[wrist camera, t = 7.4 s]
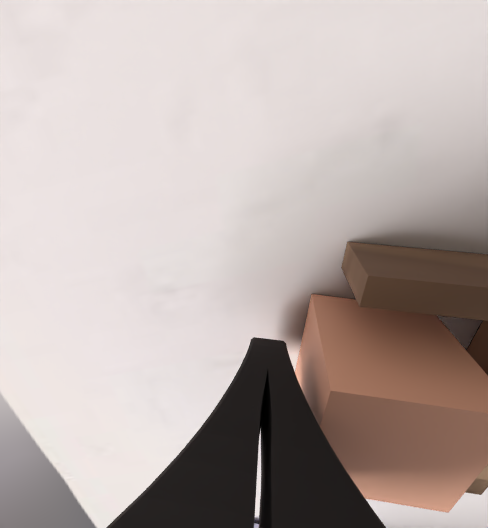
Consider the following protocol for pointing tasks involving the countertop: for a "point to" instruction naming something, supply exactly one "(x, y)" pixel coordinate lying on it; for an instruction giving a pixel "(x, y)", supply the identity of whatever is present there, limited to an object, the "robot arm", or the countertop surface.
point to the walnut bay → (424, 291)
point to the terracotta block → (395, 401)
